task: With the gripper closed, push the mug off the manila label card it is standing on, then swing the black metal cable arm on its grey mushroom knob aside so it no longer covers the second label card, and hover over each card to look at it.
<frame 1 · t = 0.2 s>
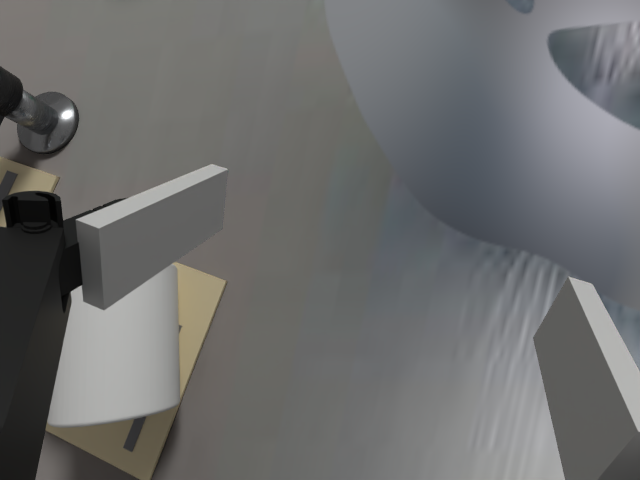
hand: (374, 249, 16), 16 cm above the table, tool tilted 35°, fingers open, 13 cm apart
grey mushroom knob: (50, 124, 39), on the table
label card B: (126, 350, 33), on the table
mug: (130, 338, 33), resting on label card B
label card A: (9, 211, 37), on the table
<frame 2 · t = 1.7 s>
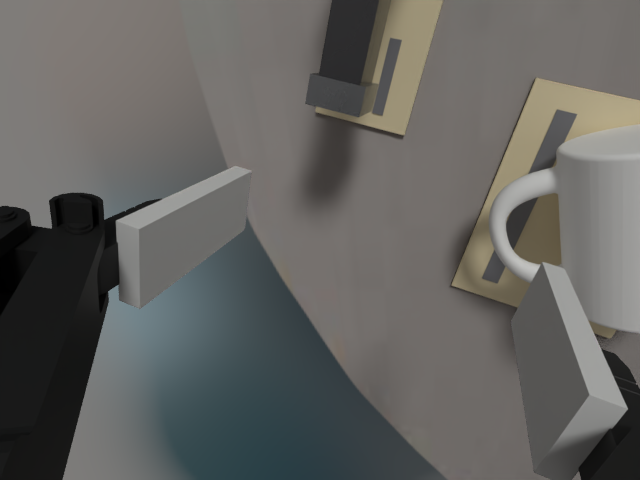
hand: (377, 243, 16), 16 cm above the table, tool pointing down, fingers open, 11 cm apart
label card B: (575, 218, 28), on the table
mug: (583, 205, 28), resting on label card B
label card A: (374, 58, 29), on the table
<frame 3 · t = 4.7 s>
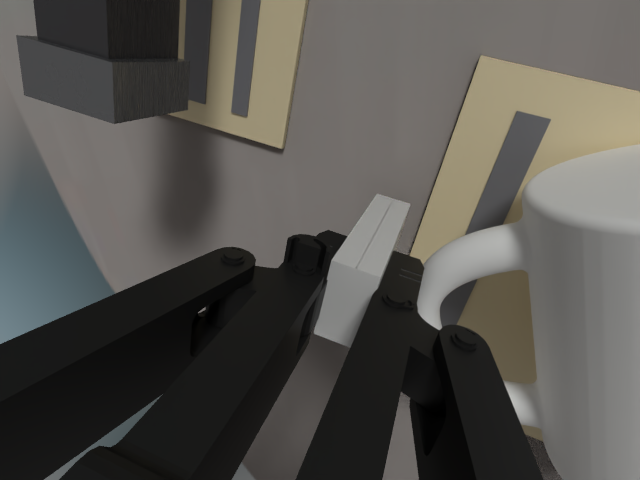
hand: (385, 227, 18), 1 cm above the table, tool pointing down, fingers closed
label card B: (549, 287, 17), on the table
mug: (574, 271, 17), resting on label card B, touching gripper
label card A: (227, 24, 18), on the table
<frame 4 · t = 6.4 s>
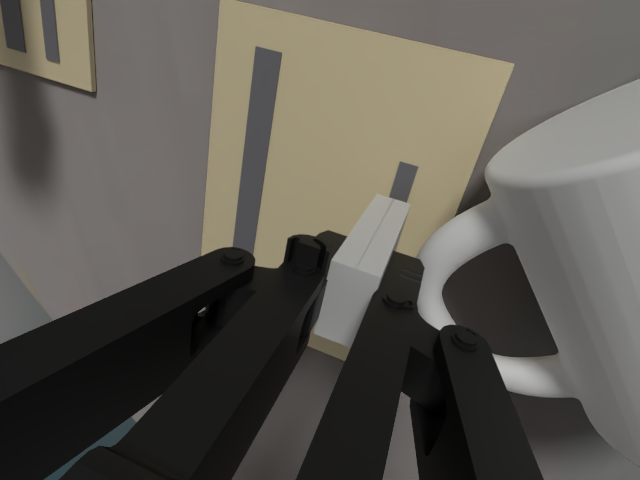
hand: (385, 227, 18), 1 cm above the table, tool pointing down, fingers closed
label card B: (318, 210, 20), on the table
mug: (574, 234, 17), on the table, touching gripper
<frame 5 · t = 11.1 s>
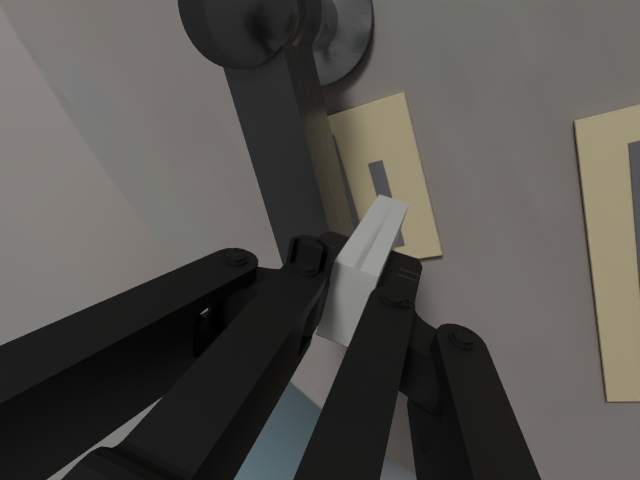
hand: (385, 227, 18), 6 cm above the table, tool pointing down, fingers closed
grey mushroom knob: (314, 22, 20), on the table
label card A: (362, 191, 23), on the table
cable arm: (290, 141, 16), point 7 cm above the table, hinge at -3.7°, touching gripper
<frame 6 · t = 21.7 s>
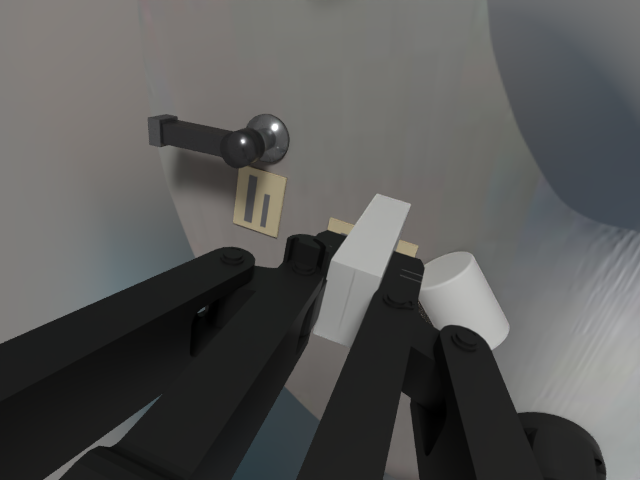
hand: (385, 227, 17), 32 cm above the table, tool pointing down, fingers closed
grey mushroom knob: (267, 138, 53), on the table
label card B: (359, 281, 57), on the table
mug: (445, 291, 54), on the table
label card A: (259, 201, 57), on the table
cable arm: (206, 139, 48), point 7 cm above the table, hinge at -85.7°
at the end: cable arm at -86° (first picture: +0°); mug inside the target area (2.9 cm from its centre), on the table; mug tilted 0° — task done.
